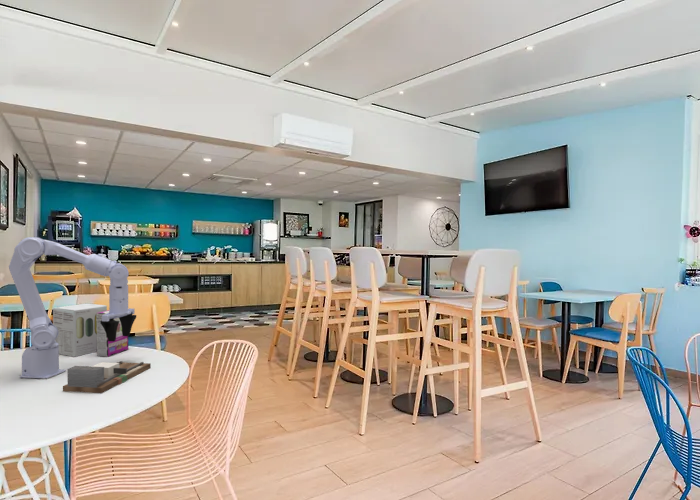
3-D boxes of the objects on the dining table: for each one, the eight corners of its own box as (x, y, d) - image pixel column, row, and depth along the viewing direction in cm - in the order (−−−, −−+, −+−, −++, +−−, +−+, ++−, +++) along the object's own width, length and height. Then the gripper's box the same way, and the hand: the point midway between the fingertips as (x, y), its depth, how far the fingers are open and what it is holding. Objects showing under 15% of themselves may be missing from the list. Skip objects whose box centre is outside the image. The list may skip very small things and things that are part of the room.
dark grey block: (67, 386, 121) (67, 368, 121) (75, 382, 124) (75, 365, 124) (96, 387, 120) (96, 370, 120) (104, 384, 123) (104, 367, 123)
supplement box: (74, 357, 156) (73, 310, 156) (52, 353, 162) (52, 307, 162) (108, 349, 168) (107, 305, 168) (87, 345, 174) (86, 302, 174)
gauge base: (62, 391, 122) (62, 383, 122) (117, 366, 145) (117, 360, 145) (102, 393, 120) (102, 385, 120) (151, 367, 144) (151, 361, 144)
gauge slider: (85, 379, 126) (85, 369, 126) (101, 372, 133) (101, 362, 133) (116, 381, 125) (116, 370, 125) (131, 373, 132) (131, 363, 132)
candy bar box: (117, 349, 169) (117, 307, 168) (129, 349, 168) (128, 308, 167) (95, 356, 158) (95, 312, 157) (107, 357, 157) (107, 313, 156)
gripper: (115, 302, 138) (116, 343, 139) (142, 296, 153) (142, 334, 153) (95, 301, 139) (96, 343, 139) (123, 296, 153) (124, 333, 154)
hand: (119, 338), depth 146 cm, fingers open, 7 cm apart
